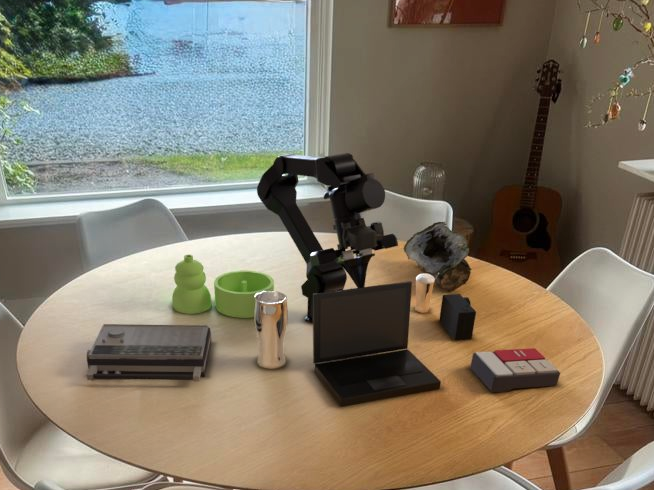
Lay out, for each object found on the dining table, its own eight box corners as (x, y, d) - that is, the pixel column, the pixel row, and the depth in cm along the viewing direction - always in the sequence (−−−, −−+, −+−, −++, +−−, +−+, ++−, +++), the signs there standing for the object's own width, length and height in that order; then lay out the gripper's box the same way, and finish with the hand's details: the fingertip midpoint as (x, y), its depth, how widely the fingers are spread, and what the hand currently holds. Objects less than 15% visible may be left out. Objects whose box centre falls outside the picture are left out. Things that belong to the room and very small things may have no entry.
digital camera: (476, 339, 168) (481, 311, 164) (454, 340, 167) (459, 312, 163) (460, 320, 176) (464, 292, 172) (439, 321, 175) (442, 294, 171)
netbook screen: (412, 281, 152) (410, 280, 152) (314, 294, 145) (312, 293, 146) (407, 348, 160) (406, 347, 160) (314, 364, 153) (313, 362, 154)
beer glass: (263, 372, 154) (262, 306, 145) (250, 358, 159) (248, 293, 150) (292, 365, 156) (293, 300, 147) (278, 352, 161) (278, 288, 152)
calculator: (562, 370, 149) (496, 374, 146) (556, 388, 152) (491, 392, 148) (536, 345, 158) (473, 349, 154) (531, 363, 160) (469, 367, 157)
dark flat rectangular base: (439, 389, 149) (441, 380, 148) (341, 406, 143) (341, 398, 142) (407, 356, 161) (407, 348, 160) (314, 371, 154) (314, 363, 153)
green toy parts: (273, 293, 187) (273, 245, 180) (274, 317, 176) (274, 267, 168) (175, 293, 186) (171, 245, 178) (170, 318, 174) (165, 267, 167)
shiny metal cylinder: (433, 315, 178) (438, 276, 172) (411, 312, 179) (416, 273, 173) (434, 307, 182) (439, 269, 176) (413, 305, 183) (417, 267, 177)
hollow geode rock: (453, 316, 189) (499, 276, 183) (422, 285, 182) (470, 242, 177) (426, 272, 211) (467, 235, 205) (398, 243, 204) (439, 204, 199)
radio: (210, 320, 161) (200, 364, 145) (211, 342, 164) (202, 387, 148) (99, 319, 161) (78, 362, 145) (103, 341, 164) (82, 385, 148)
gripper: (320, 221, 145) (336, 299, 149) (402, 202, 150) (416, 278, 154) (302, 227, 155) (318, 300, 160) (380, 209, 160) (393, 280, 165)
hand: (361, 289), depth 159 cm, fingers closed
